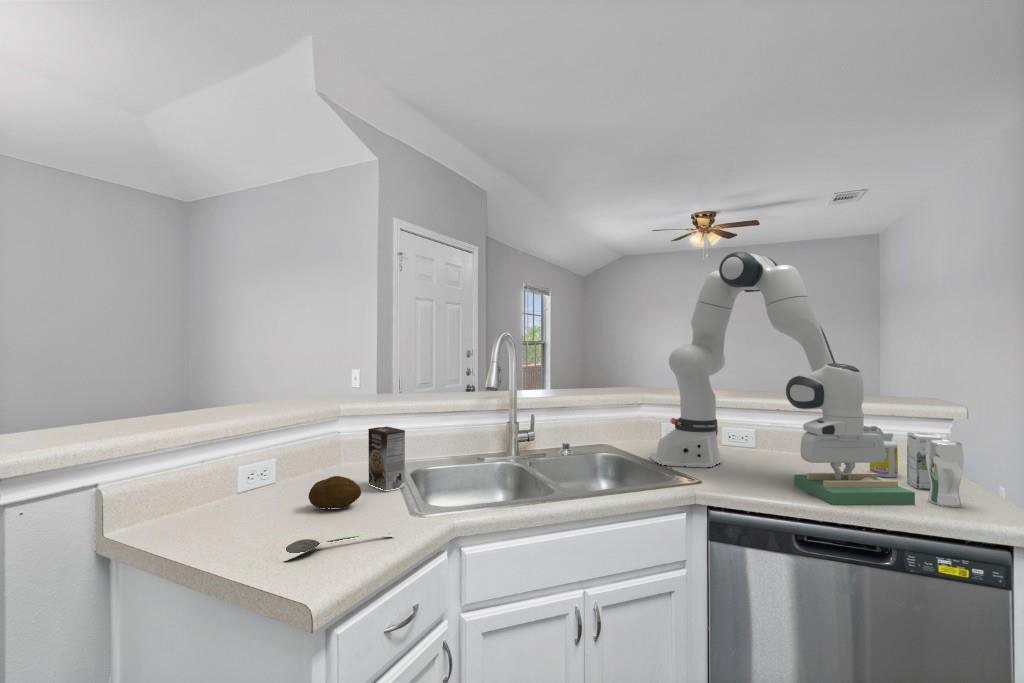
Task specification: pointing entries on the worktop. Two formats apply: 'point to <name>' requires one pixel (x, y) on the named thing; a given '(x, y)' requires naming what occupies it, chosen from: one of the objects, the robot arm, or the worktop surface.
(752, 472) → the worktop surface
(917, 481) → the syrup box
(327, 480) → the potato
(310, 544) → the soupspoon
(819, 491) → the putting mat
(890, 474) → the supplement bottle
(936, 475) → the beer glass
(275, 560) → the worktop surface
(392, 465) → the coffee box
